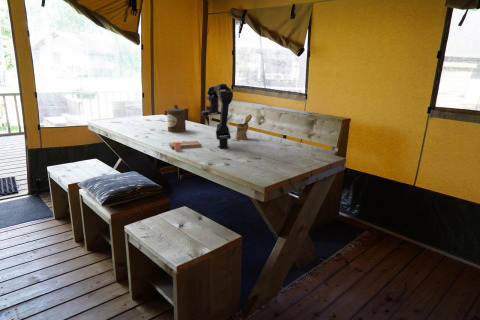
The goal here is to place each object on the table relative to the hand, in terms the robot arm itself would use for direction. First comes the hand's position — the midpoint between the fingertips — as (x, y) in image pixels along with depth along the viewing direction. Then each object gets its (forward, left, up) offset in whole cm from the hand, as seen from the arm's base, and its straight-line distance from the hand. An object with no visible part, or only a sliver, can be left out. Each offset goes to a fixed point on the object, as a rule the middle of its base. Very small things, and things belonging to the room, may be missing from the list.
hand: (214, 125), depth 244 cm
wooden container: (+46, +19, -12) cm, 51 cm away
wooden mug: (+2, -24, -12) cm, 27 cm away
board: (-8, +24, -12) cm, 28 cm away
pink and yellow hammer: (-12, +31, -12) cm, 35 cm away
